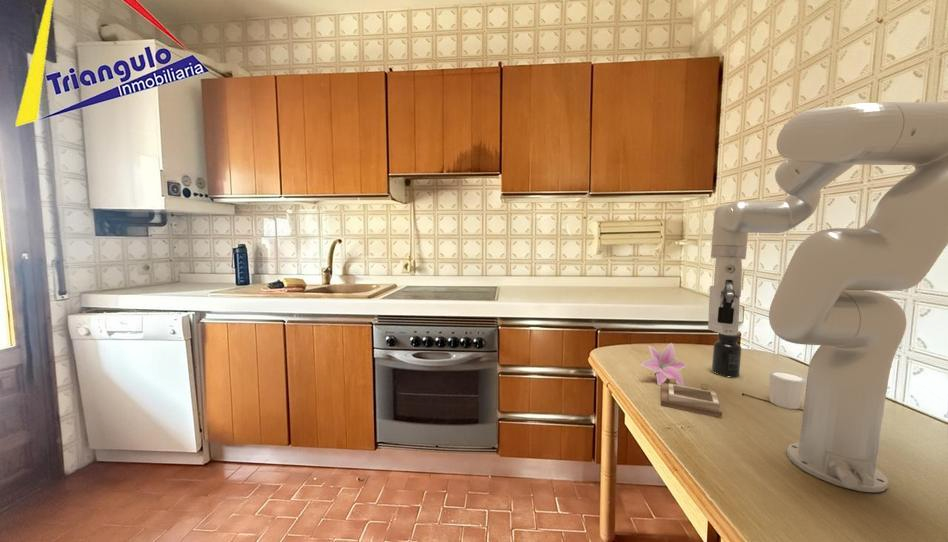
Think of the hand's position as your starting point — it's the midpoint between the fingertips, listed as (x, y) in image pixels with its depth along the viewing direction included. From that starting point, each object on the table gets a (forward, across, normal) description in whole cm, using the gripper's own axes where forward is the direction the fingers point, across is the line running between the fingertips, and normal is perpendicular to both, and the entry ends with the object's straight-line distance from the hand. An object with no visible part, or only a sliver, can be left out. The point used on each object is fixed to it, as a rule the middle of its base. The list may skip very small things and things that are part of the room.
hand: (722, 319), depth 97 cm
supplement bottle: (+19, +15, -4) cm, 24 cm away
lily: (+19, -2, +13) cm, 23 cm away
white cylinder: (+19, -2, -14) cm, 24 cm away
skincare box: (+3, 0, 0) cm, 3 cm away
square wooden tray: (+19, -13, +7) cm, 24 cm away
